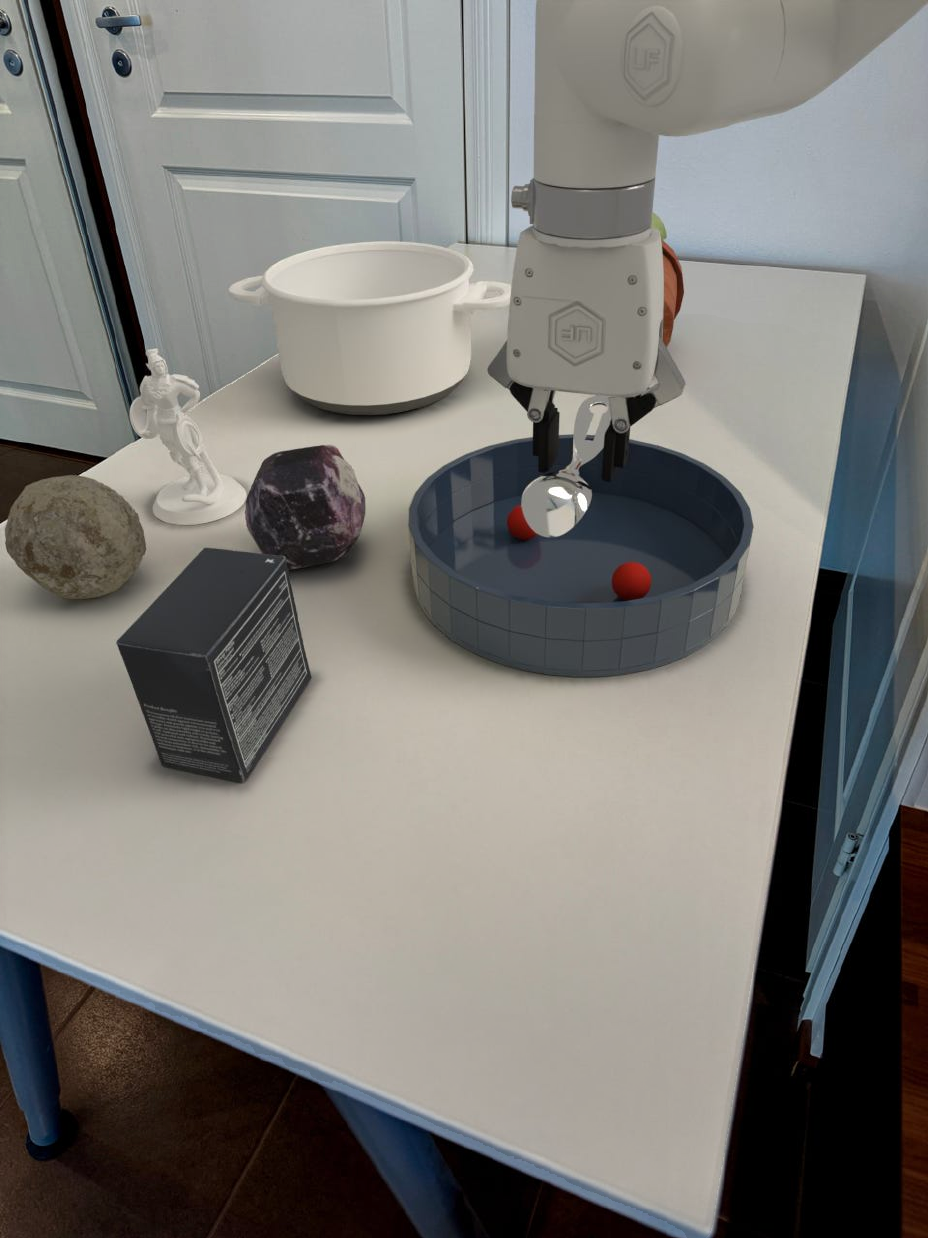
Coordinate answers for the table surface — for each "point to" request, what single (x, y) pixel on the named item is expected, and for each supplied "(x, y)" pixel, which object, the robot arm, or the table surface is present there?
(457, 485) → the bowl
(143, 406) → the figurine
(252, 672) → the small box
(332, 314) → the pot
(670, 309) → the potted plant
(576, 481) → the metal spoon
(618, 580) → the tomato
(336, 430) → the table surface
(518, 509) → the tomato
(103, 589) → the decorative stone
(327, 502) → the mineral specimen
